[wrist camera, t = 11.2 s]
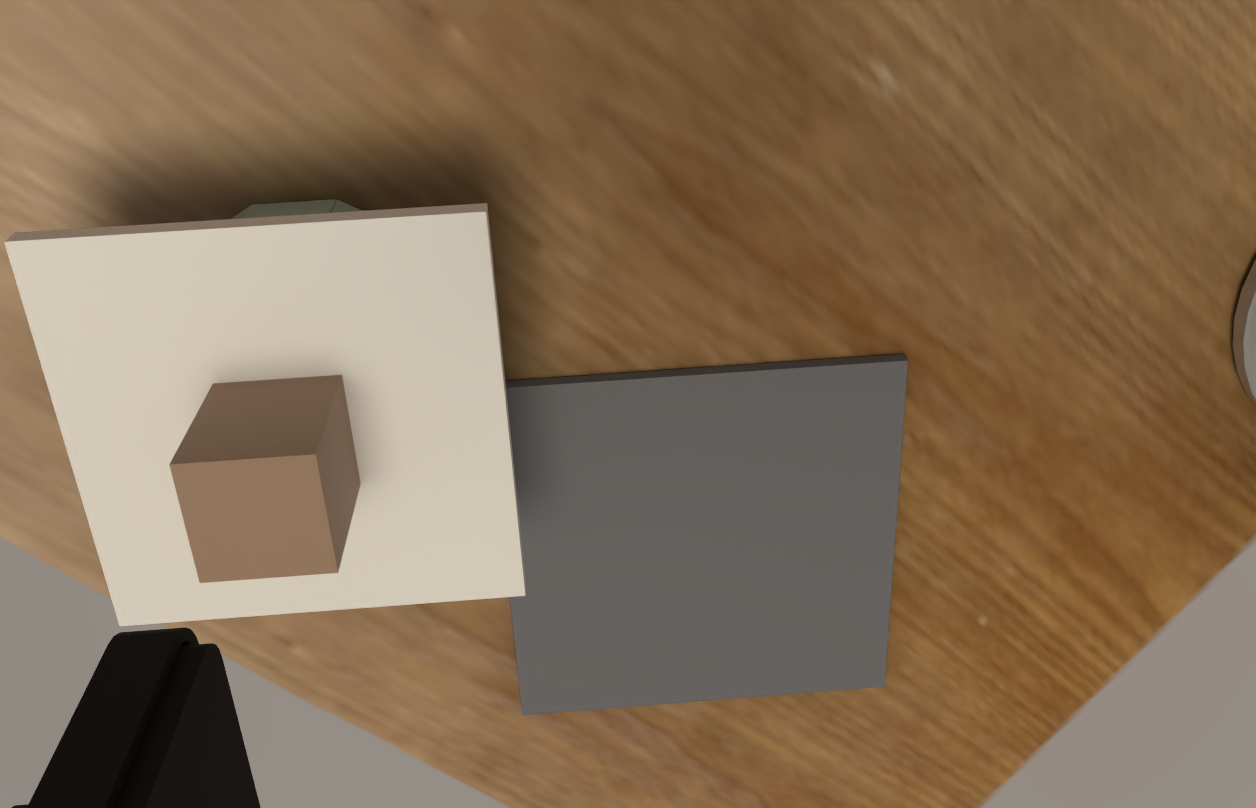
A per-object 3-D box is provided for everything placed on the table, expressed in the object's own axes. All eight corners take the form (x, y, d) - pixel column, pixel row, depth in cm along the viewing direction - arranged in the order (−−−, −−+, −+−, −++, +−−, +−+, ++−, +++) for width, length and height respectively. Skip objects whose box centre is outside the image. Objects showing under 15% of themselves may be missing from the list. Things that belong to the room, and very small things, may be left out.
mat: (903, 353, 46) (908, 360, 46) (880, 677, 54) (884, 686, 53) (487, 382, 46) (487, 389, 45) (522, 705, 53) (522, 715, 53)
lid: (486, 203, 36) (478, 273, 31) (525, 582, 43) (523, 692, 38) (14, 232, 36) (-74, 309, 31) (126, 611, 42) (69, 727, 37)
